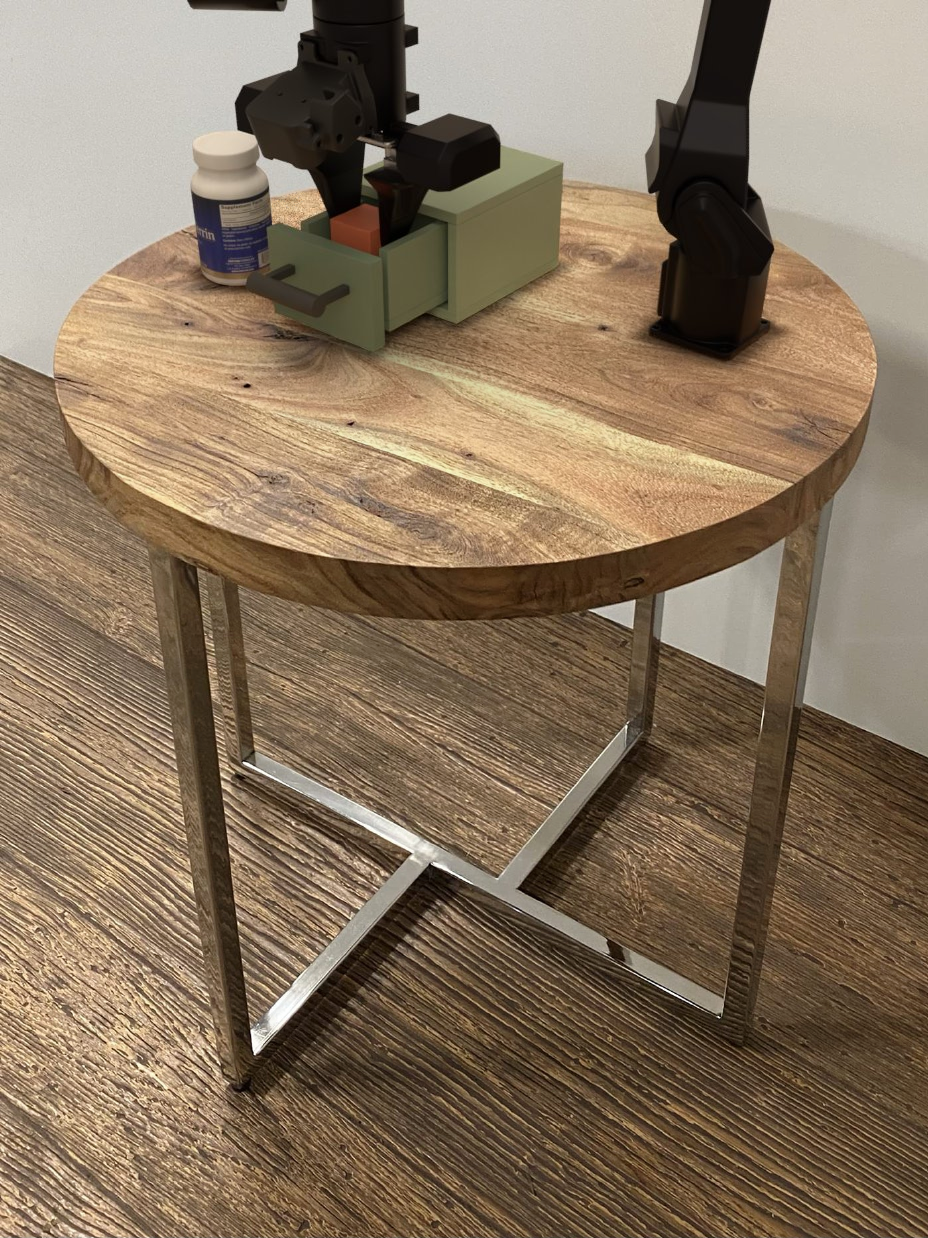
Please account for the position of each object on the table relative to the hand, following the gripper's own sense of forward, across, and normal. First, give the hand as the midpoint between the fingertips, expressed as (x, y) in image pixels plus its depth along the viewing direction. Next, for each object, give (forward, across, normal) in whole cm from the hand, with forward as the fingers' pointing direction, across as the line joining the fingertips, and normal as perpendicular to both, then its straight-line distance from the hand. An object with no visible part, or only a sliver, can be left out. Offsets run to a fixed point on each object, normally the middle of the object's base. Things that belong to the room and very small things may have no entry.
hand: (369, 252), depth 91 cm
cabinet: (+5, 0, +10) cm, 11 cm away
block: (+1, 0, 0) cm, 1 cm away
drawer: (+4, 0, -1) cm, 4 cm away
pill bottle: (+5, -13, 0) cm, 14 cm away
